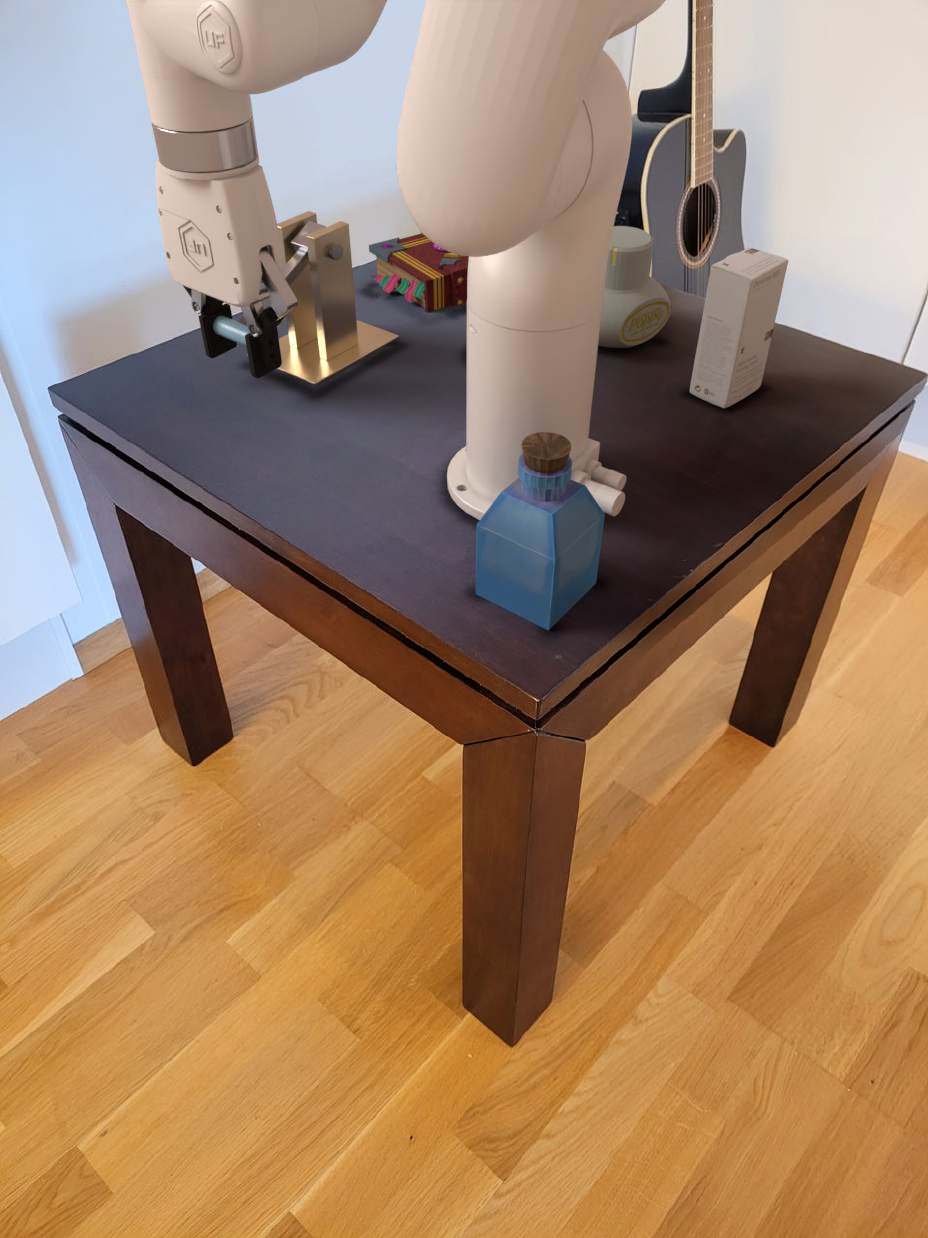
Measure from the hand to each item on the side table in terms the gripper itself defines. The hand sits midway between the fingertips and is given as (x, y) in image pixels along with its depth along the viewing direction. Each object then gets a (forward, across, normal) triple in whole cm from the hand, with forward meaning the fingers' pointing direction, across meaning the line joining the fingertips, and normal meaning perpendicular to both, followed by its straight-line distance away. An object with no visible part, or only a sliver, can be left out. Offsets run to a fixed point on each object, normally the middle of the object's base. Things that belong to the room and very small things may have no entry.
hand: (244, 359), depth 85 cm
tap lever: (-4, 0, +6) cm, 7 cm away
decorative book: (+4, 0, +30) cm, 30 cm away
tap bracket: (+4, 0, +10) cm, 11 cm away
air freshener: (+4, +20, +31) cm, 37 cm away
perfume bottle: (+4, +36, -6) cm, 37 cm away
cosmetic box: (+4, +34, +28) cm, 44 cm away
